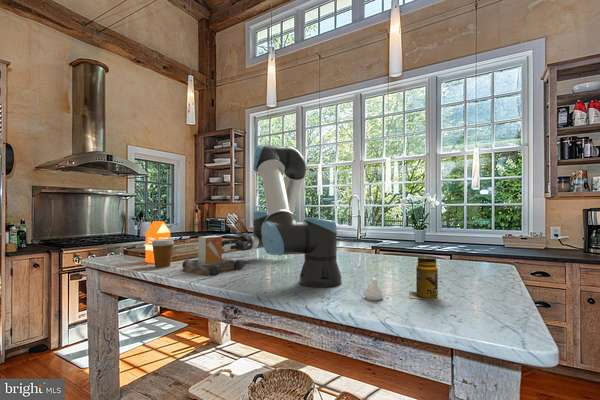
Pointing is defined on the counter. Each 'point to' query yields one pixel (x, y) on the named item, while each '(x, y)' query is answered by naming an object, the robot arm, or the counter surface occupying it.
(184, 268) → the dark square tray
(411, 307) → the counter surface
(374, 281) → the garlic bulb
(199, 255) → the small box
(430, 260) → the condiment
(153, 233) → the orange juice
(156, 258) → the disposable coffee cup
